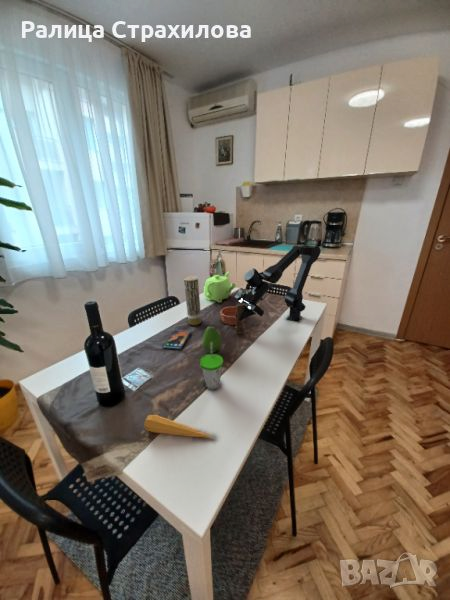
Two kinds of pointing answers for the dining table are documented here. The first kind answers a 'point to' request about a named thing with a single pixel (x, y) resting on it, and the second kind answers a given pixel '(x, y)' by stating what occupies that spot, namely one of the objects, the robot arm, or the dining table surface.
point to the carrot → (170, 427)
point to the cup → (211, 369)
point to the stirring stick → (240, 324)
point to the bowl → (229, 315)
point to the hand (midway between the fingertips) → (237, 318)
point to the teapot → (218, 288)
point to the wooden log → (192, 300)
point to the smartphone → (177, 339)
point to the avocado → (211, 339)
